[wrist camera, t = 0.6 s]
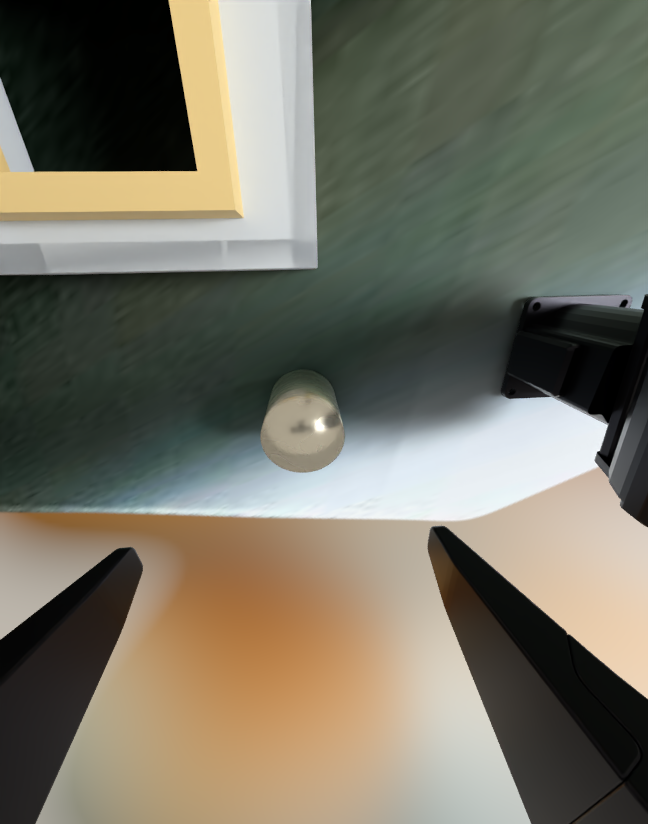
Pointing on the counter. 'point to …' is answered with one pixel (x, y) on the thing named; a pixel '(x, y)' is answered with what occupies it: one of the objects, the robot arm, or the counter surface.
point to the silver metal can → (302, 423)
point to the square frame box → (188, 190)
